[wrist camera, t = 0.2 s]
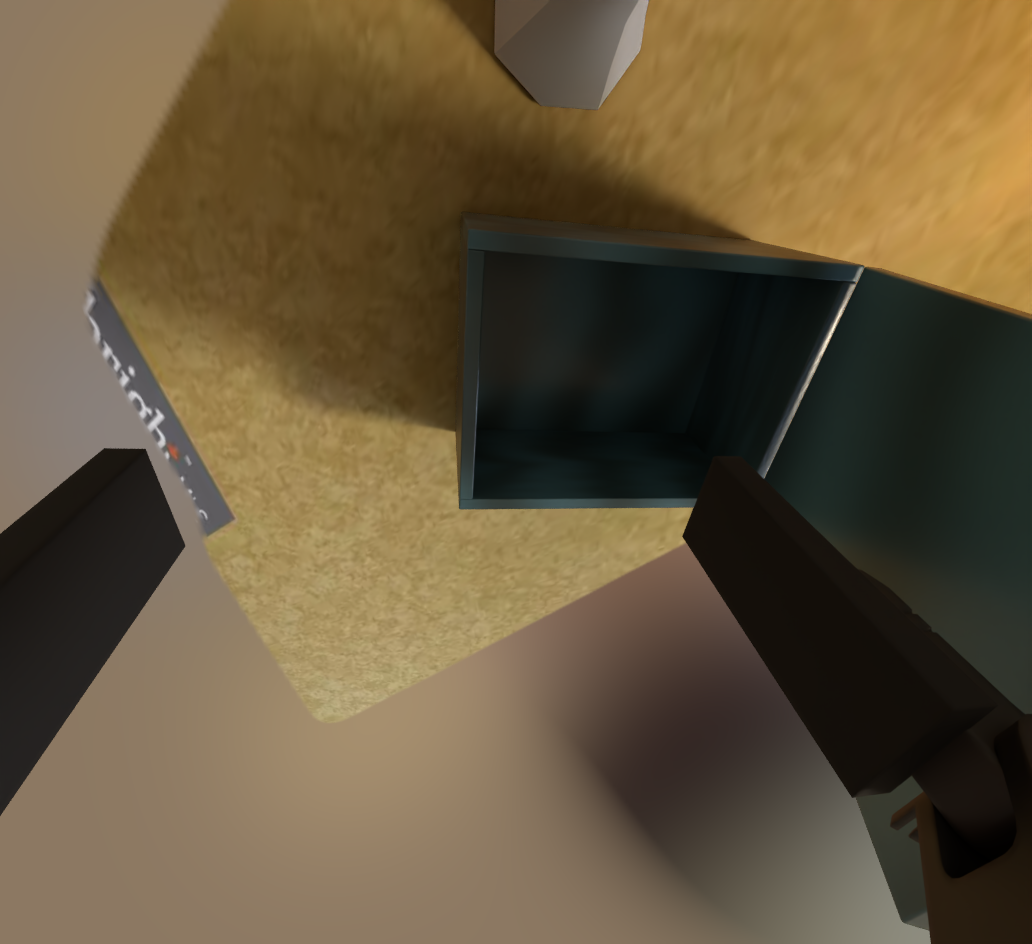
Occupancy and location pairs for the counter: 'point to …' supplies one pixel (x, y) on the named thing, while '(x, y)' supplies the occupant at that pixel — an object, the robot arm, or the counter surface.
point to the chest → (627, 359)
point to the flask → (568, 46)
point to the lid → (925, 488)
